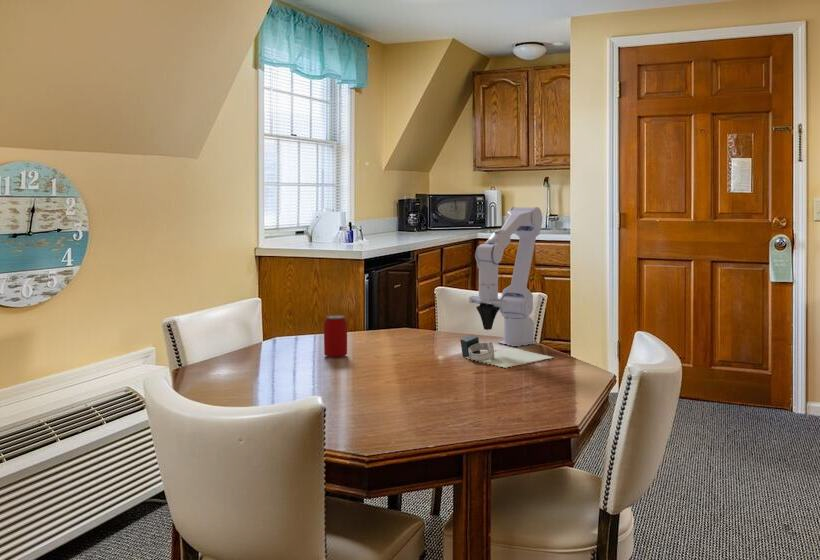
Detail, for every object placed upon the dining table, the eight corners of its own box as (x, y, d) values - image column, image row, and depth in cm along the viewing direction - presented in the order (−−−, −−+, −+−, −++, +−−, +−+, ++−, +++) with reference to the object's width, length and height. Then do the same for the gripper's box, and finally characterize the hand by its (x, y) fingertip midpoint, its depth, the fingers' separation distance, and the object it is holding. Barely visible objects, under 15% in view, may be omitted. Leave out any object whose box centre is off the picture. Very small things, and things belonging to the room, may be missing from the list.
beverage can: (349, 354, 221) (348, 314, 219) (344, 359, 214) (344, 318, 213) (326, 353, 221) (326, 314, 220) (322, 358, 215) (321, 318, 213)
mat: (513, 349, 227) (513, 348, 227) (553, 358, 214) (553, 357, 214) (465, 358, 215) (465, 357, 215) (505, 368, 202) (505, 366, 202)
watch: (479, 349, 221) (502, 359, 212) (457, 357, 217) (479, 369, 208) (477, 331, 219) (499, 341, 210) (455, 340, 216) (477, 350, 206)
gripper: (461, 282, 222) (461, 327, 224) (496, 287, 211) (495, 334, 213) (478, 281, 227) (478, 324, 228) (513, 285, 215) (512, 331, 217)
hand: (487, 329), depth 221 cm, fingers closed
